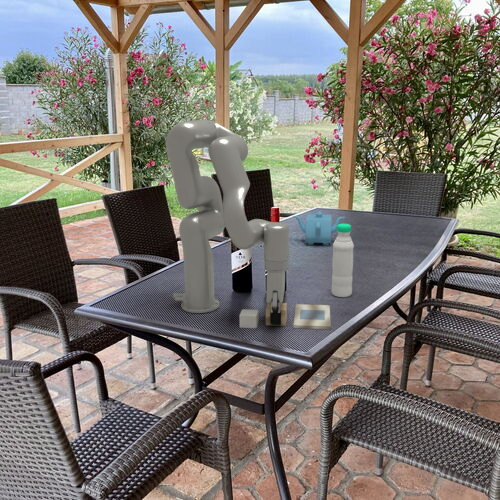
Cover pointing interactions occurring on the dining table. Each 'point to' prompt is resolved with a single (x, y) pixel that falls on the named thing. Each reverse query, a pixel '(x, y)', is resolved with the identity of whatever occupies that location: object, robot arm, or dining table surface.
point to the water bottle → (342, 262)
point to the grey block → (248, 318)
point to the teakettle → (318, 228)
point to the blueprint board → (312, 317)
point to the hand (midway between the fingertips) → (276, 319)
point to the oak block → (282, 309)
